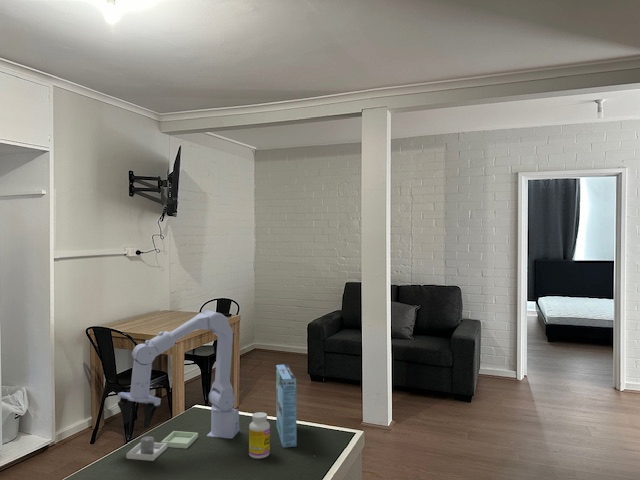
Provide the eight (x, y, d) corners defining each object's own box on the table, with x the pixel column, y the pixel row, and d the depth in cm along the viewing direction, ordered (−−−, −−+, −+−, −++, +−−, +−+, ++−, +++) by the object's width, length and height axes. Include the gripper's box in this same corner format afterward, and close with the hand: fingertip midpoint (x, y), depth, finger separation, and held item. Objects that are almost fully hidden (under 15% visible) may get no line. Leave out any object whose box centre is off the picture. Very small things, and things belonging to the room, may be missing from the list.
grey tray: (166, 449, 157) (166, 443, 157) (153, 461, 148) (153, 455, 148) (141, 447, 158) (141, 441, 158) (126, 459, 149) (126, 453, 149)
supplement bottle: (265, 460, 150) (266, 419, 150) (245, 458, 151) (246, 417, 151) (272, 451, 156) (272, 412, 156) (253, 449, 157) (253, 410, 158)
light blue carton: (296, 447, 160) (297, 378, 160) (281, 448, 159) (282, 379, 159) (288, 425, 179) (289, 363, 179) (275, 426, 178) (275, 364, 178)
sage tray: (197, 438, 166) (198, 432, 166) (186, 449, 157) (186, 443, 157) (173, 436, 167) (173, 431, 167) (161, 447, 158) (161, 441, 158)
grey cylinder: (156, 451, 155) (156, 436, 155) (149, 456, 151) (149, 441, 151) (144, 450, 155) (144, 435, 155) (138, 455, 151) (138, 441, 151)
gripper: (113, 381, 152) (108, 424, 151) (153, 388, 148) (148, 432, 148) (127, 377, 159) (123, 418, 158) (165, 383, 155) (161, 425, 154)
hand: (136, 424), depth 153 cm, fingers open, 7 cm apart
